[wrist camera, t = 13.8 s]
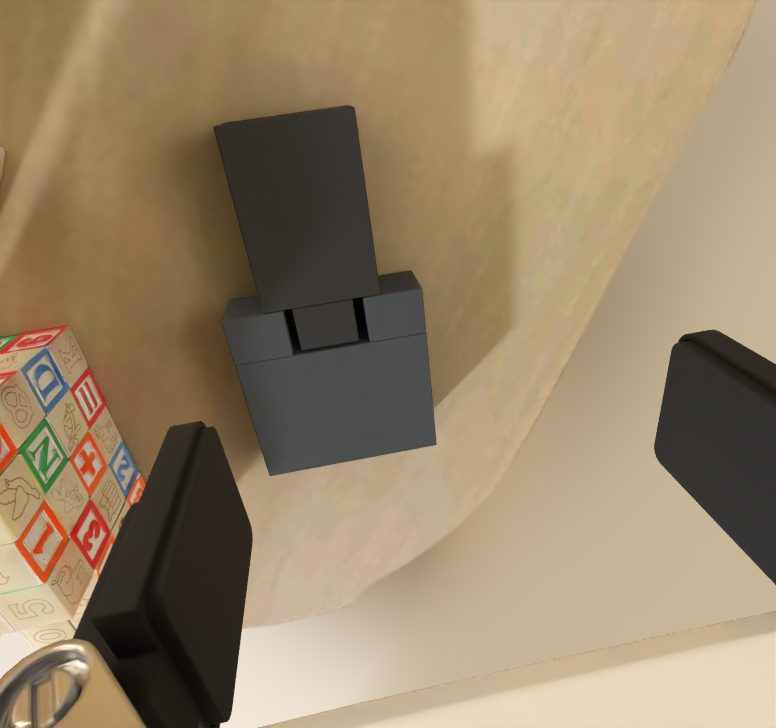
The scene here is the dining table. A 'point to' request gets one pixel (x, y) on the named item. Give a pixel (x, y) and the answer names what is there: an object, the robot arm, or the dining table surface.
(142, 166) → the dining table surface
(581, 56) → the dining table surface
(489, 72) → the dining table surface
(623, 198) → the dining table surface
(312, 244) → the black tabbed block
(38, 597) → the stack of blocks
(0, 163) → the box
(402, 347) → the grey block
